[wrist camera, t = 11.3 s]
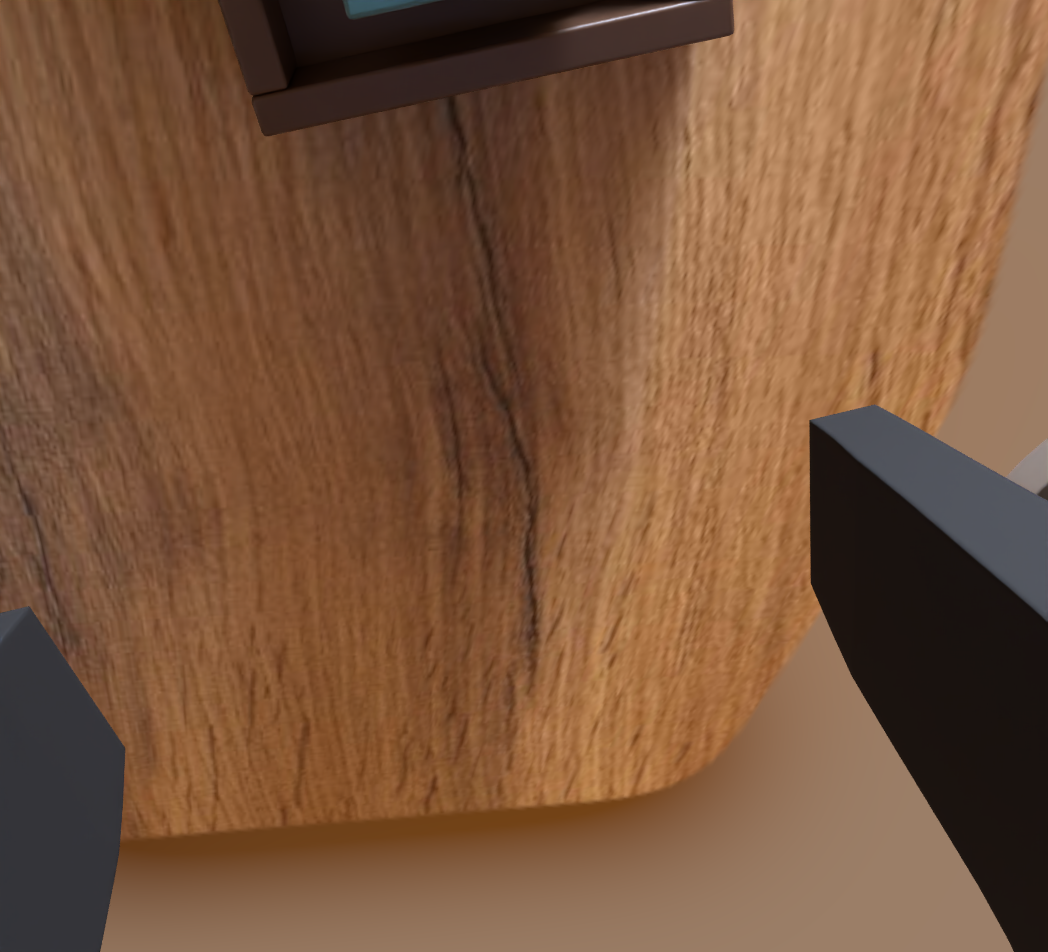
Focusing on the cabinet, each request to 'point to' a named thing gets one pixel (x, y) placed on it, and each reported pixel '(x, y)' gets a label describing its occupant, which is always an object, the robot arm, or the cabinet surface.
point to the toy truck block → (378, 6)
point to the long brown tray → (438, 48)
